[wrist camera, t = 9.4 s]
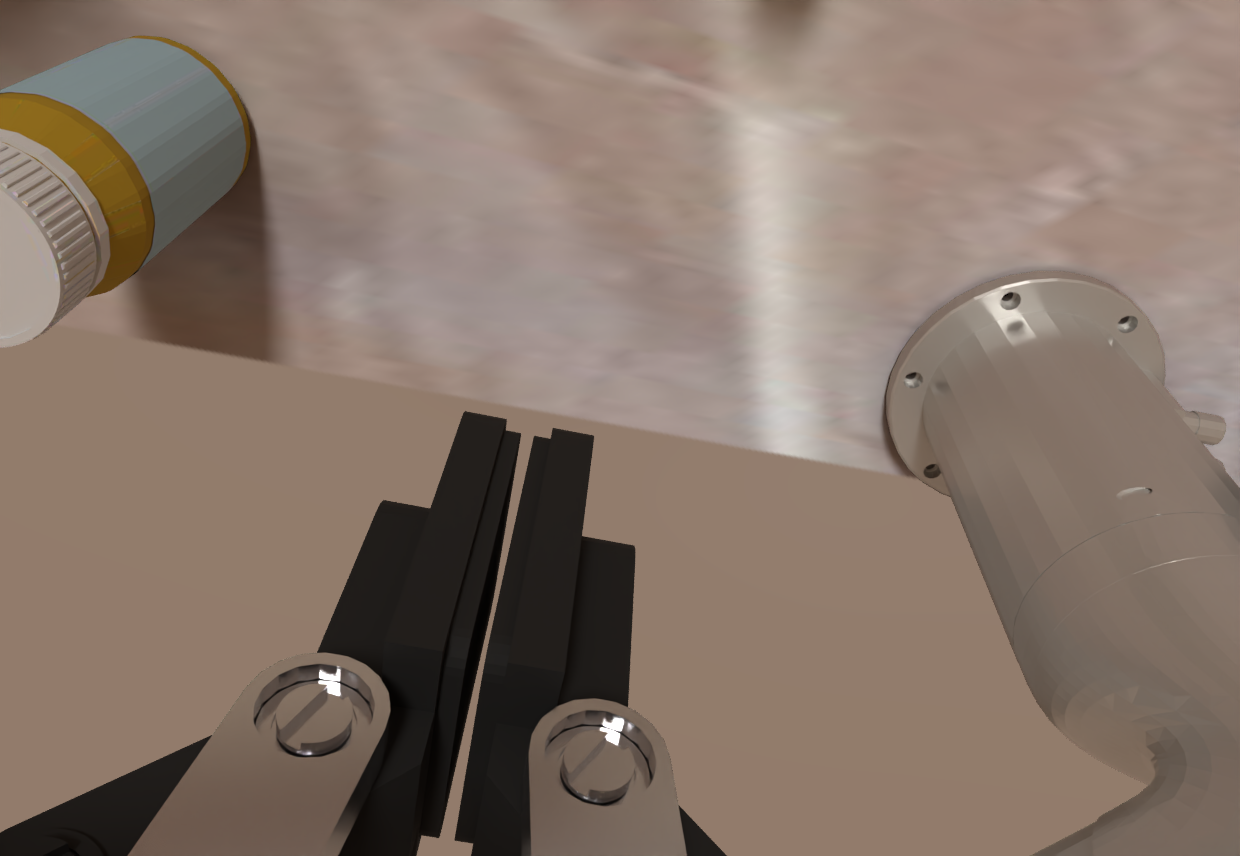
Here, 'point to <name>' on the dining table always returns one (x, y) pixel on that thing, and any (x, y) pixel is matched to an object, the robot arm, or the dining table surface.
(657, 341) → the dining table surface
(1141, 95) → the dining table surface
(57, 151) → the bottle
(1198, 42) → the dining table surface
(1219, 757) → the robot arm
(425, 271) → the dining table surface
